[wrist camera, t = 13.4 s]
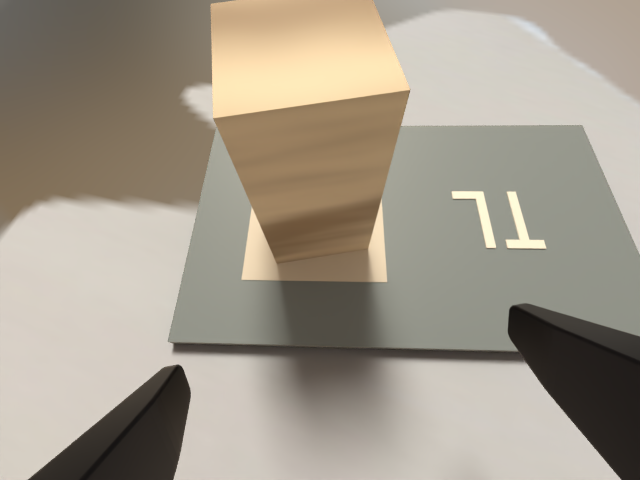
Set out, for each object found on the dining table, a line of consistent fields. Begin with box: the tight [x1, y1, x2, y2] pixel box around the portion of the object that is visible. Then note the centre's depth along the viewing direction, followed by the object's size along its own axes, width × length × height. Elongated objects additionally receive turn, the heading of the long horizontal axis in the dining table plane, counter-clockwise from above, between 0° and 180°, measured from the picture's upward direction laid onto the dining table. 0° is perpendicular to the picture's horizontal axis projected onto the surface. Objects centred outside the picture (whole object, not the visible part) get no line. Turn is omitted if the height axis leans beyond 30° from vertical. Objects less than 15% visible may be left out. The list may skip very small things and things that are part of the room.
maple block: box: [211, 0, 410, 264], centre depth 13 cm, size 5×5×10 cm
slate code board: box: [168, 125, 640, 352], centre depth 18 cm, size 24×14×1 cm, turn 88°
